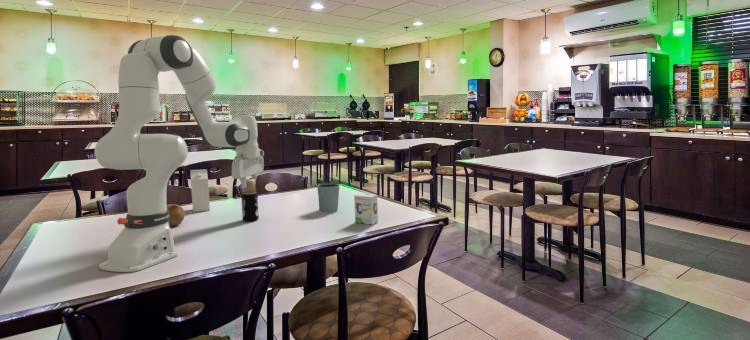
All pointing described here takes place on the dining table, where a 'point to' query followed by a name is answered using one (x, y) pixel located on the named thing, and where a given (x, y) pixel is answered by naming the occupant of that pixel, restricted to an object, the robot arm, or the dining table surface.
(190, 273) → the dining table surface
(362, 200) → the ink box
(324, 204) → the grey green pot
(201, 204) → the milk carton
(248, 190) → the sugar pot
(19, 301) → the dining table surface
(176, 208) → the onion
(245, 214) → the beverage can
